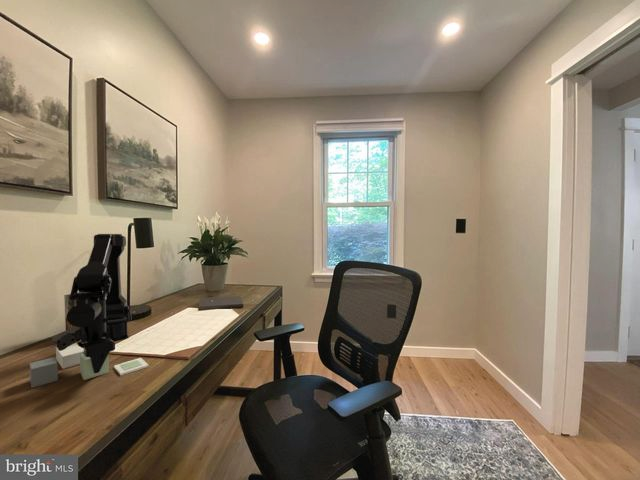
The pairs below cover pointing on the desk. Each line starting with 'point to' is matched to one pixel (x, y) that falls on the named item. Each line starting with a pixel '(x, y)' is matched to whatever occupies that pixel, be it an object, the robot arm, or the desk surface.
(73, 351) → the plinth
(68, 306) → the coffee box
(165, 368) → the desk surface
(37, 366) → the slate cube
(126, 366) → the card
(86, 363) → the sage cube
